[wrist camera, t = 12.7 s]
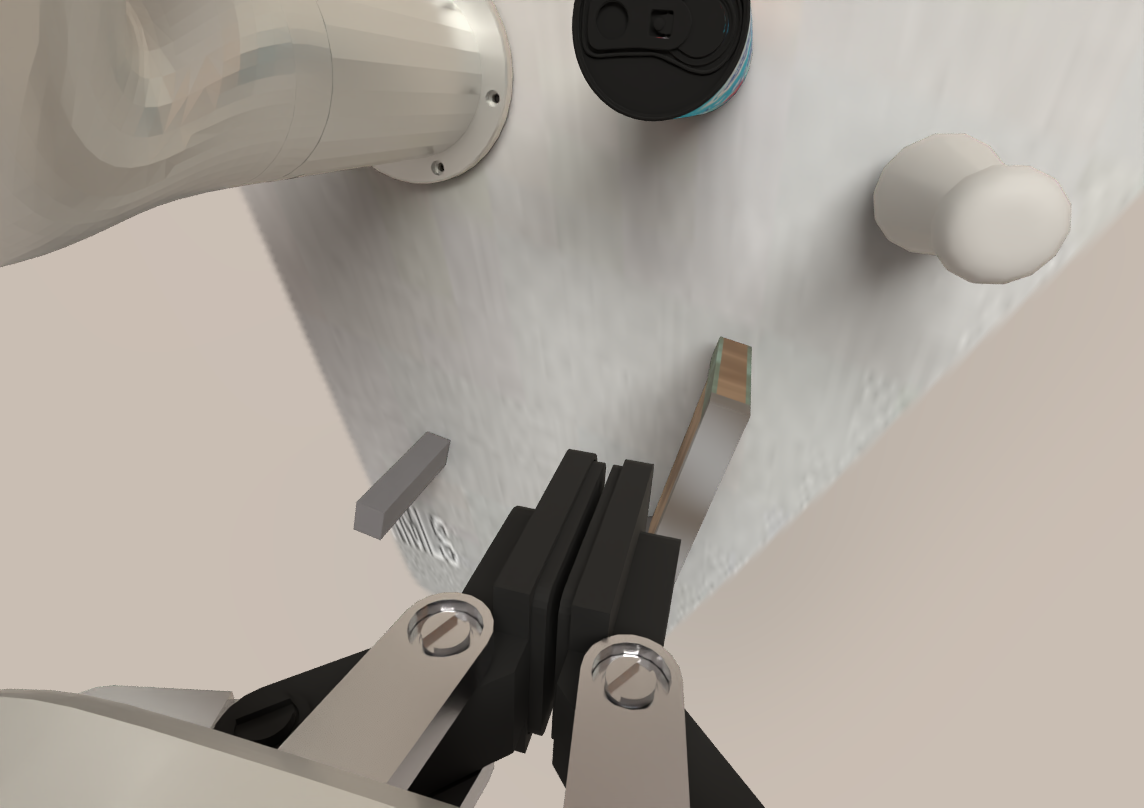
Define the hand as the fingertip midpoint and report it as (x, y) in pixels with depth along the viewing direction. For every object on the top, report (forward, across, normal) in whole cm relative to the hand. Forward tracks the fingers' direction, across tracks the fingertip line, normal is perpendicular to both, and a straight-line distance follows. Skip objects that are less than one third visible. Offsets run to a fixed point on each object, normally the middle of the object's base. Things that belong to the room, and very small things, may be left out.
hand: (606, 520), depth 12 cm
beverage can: (+29, +2, -10) cm, 31 cm away
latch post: (+29, +19, +18) cm, 39 cm away
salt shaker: (+29, -11, -4) cm, 32 cm away
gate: (+28, -1, +13) cm, 31 cm away
